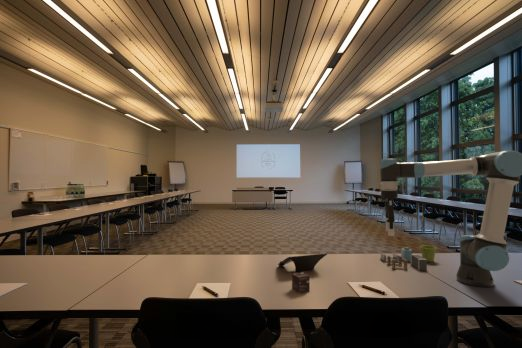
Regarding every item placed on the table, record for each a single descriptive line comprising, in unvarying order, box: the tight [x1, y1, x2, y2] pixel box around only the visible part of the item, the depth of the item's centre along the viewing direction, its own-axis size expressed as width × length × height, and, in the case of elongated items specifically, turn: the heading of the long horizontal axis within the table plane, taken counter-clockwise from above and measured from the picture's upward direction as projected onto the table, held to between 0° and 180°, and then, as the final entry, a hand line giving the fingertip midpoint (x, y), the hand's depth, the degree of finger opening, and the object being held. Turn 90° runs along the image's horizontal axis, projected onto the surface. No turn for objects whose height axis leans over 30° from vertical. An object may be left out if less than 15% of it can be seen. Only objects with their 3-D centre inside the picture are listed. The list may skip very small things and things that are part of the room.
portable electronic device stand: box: [277, 253, 328, 273], centre depth 169 cm, size 23×23×9 cm
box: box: [291, 272, 310, 294], centre depth 138 cm, size 6×6×7 cm
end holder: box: [380, 252, 400, 263], centre depth 189 cm, size 8×8×4 cm
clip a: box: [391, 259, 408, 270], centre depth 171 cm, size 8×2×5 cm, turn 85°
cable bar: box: [410, 253, 428, 271], centre depth 174 cm, size 4×12×6 cm, turn 175°
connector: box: [400, 246, 413, 263], centre depth 189 cm, size 5×5×8 cm
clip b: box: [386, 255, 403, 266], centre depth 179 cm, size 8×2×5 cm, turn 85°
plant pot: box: [419, 244, 438, 263], centre depth 188 cm, size 9×9×9 cm
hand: (390, 233), depth 147 cm, fingers open, 13 cm apart
